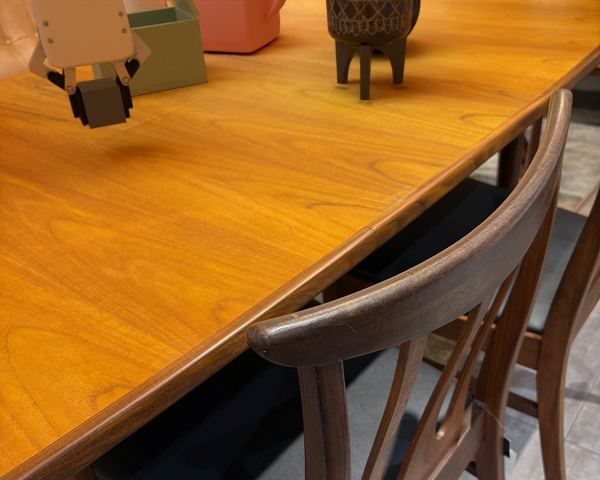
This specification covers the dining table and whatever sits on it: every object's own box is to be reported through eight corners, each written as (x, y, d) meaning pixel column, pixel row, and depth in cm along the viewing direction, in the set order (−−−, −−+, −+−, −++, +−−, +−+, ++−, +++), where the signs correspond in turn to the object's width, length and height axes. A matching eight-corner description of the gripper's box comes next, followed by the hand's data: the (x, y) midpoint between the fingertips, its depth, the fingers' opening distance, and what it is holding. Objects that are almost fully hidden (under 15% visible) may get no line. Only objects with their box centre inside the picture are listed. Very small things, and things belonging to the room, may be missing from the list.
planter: (309, 92, 95) (303, -37, 84) (359, 70, 102) (359, -51, 92) (378, 107, 88) (381, -32, 77) (426, 82, 95) (435, -47, 85)
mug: (133, 43, 126) (119, -22, 119) (174, 39, 127) (163, -26, 120) (128, 58, 117) (113, -11, 110) (173, 54, 118) (161, -15, 110)
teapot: (274, 57, 111) (268, -28, 103) (171, 52, 119) (157, -28, 110) (313, 31, 126) (310, -46, 118) (219, 27, 133) (210, -45, 125)
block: (90, 129, 75) (81, 92, 72) (84, 117, 78) (75, 82, 76) (126, 122, 76) (119, 86, 74) (119, 111, 80) (112, 76, 77)
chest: (108, 100, 97) (92, 35, 91) (95, 80, 107) (79, 20, 101) (207, 81, 102) (198, 18, 96) (187, 64, 112) (177, 5, 106)
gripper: (136, -57, 72) (163, 98, 83) (-18, -42, 67) (32, 121, 77) (151, -50, 66) (178, 115, 77) (-15, -33, 61) (38, 141, 72)
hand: (104, 117), depth 77 cm, fingers closed on block, 4 cm apart
